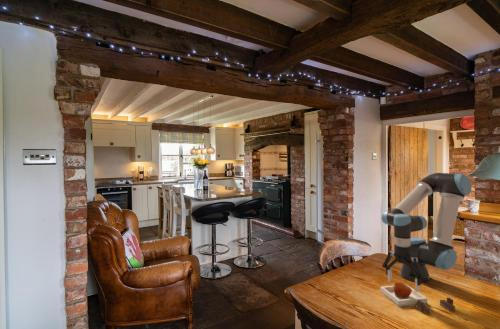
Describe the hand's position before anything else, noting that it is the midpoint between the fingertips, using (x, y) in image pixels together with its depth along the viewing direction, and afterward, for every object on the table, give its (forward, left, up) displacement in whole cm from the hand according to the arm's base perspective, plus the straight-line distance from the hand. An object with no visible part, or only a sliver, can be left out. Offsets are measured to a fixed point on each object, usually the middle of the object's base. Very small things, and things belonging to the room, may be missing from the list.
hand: (403, 286), depth 143 cm
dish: (0, 0, -6) cm, 6 cm away
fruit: (+1, 0, -5) cm, 6 cm away
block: (-8, +12, -6) cm, 16 cm away
